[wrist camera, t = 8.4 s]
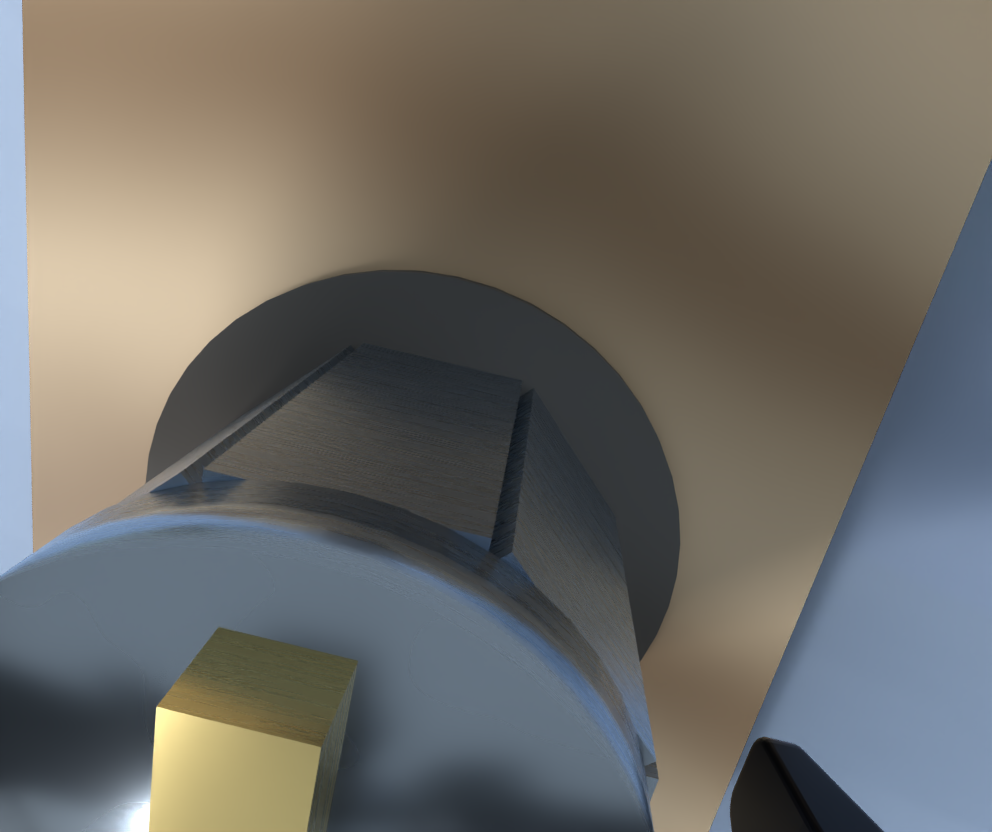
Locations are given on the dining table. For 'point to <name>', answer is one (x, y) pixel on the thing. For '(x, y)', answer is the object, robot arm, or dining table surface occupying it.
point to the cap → (336, 628)
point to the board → (517, 262)
